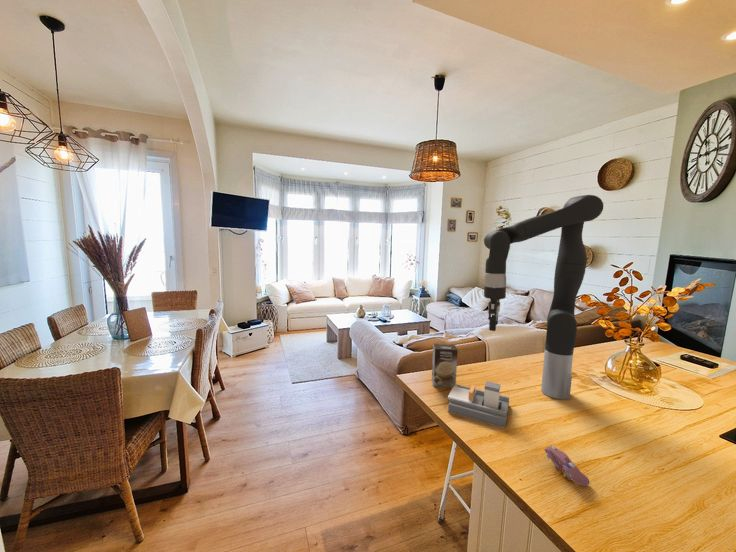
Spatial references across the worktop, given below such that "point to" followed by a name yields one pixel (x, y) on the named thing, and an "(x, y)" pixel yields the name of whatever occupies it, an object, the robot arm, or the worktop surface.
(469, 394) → the shutter
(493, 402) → the plug
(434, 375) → the coffee box
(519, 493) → the worktop surface
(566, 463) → the pink curved piece
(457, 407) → the grey sliding panel box
